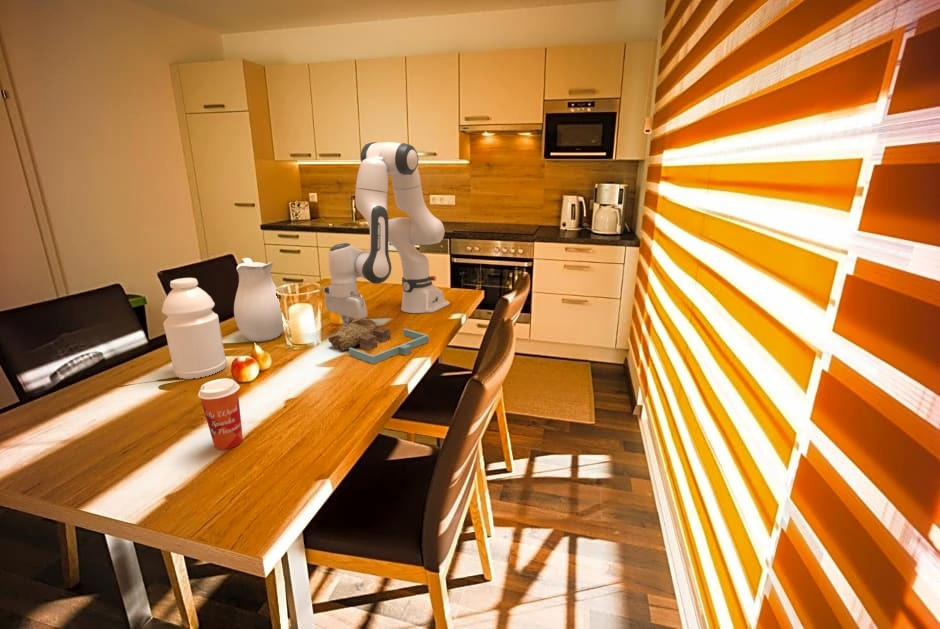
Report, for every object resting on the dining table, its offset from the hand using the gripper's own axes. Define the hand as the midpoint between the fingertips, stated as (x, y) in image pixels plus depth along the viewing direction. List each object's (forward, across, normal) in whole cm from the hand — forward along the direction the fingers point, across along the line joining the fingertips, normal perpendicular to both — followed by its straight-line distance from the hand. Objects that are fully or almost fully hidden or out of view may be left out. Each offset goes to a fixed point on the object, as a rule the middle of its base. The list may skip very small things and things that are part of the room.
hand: (347, 326), depth 167 cm
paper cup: (+3, -38, +60) cm, 71 cm away
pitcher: (+3, +26, +19) cm, 33 cm away
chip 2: (+3, -14, -4) cm, 15 cm away
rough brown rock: (+3, -8, +2) cm, 9 cm away
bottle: (+3, +9, +47) cm, 48 cm away
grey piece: (+3, -24, 0) cm, 24 cm away
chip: (+3, -16, +4) cm, 17 cm away
